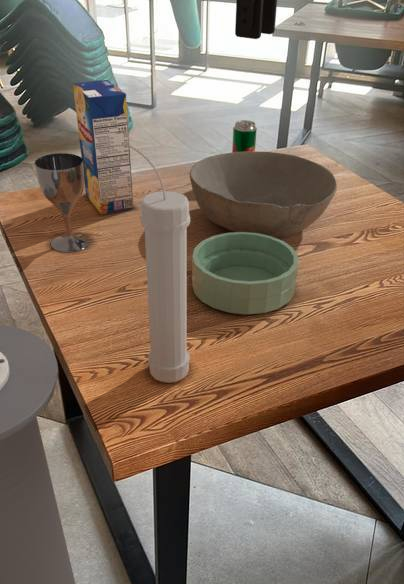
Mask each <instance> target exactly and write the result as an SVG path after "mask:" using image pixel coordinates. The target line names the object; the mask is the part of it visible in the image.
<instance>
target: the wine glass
mask: <svg viewBox="0 0 404 584" xmlns="http://www.w3.org/2000/svg"><path fill="white" fill-rule="evenodd" d="M34 168H35V173H36V178H37V182H38V185H39V187H40V190H41V192H42V194H43V196H44V197H45V198H46V200H47V201H49V202H50V203H51V204H52V205H53V206H54V207H56V208H57V209H58V210H59V212H60V213H61V215H62V217H63V220H64V224H65V229H66V233H65V234H61V235H58V236H56V237H55V238H53V239H52V240H51V241H50V246H51V248H52V249H53V250H55V251H58V252H61V253H73V252H78V251H81V250H84V249H86V248H87V247H89V246H90V244H91V239H90V237H88V236H86V235H85V234H81V233H72V228H71V227H72V226H71V213H72V210H73V208H74V206H75V205H76V204H77V202H78V201H79V200H80V199H81V197H82V195H83V191H84V189H85V182H84V165H83V159H82V157H81V155H77V154H74V153H68V152H67V153H64V152H62V153H61V152H59V153H49V154H46V155H43V156H40V157H38V158H36V160H35V161H34Z"/></svg>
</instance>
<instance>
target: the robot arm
mask: <svg viewBox="0 0 404 584" xmlns="http://www.w3.org/2000/svg"><path fill="white" fill-rule="evenodd" d="M235 3H236V4H235V24H234V26H235V27H234V28H235V29H234V34H235V36H236V37H237V38H243V39H251V40H259V39H260V38H262V37H261V36H262V35H263V34H264V35H272V34H274V33H275V31H276V19H277V6H278V0H236V2H235ZM9 375H10V368H9V365H8V361H7V359H6V357H5V356H4V355H3V354H2V353H1V352H0V390H1V389H2V388H3V387H4V386H5V384H6V382H7V381H8V378H9Z"/></svg>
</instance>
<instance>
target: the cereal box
mask: <svg viewBox="0 0 404 584" xmlns="http://www.w3.org/2000/svg"><path fill="white" fill-rule="evenodd" d="M72 88H73V96H74V106H75V112H76V121H77V129H78V130H77V131H78V138H79V139H78V140H79V146H80V147H79V148H80V157H81V158H82V159H83V165H84V191H85V195H86V196H87V198H88V199H89V200H90V202H91V203H92V205H93V206H94V207H95V209H96V210H97V211H98V213H99V214H100V215H106V214H112V213H118V212H124V211H129V210H133V209H134V197H133V182H132V181H133V180H132V165H131V150H130V147H129V146H130V133H129V119H128V117H129V115H128V106H127V105H128V103H127V102H128V101H127V93H126V92H125V91H123V90H122V89H121V88H119V87H117V86H116V85H115V84H114V83H112V82H111V81H110V80H108V79H103V80H93V81H82V82H72Z"/></svg>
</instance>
